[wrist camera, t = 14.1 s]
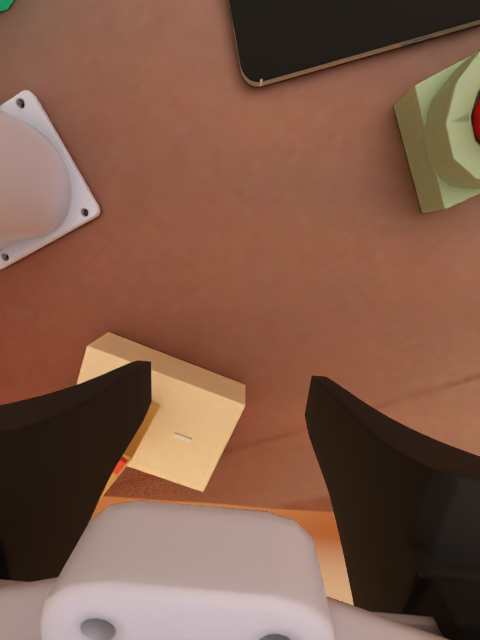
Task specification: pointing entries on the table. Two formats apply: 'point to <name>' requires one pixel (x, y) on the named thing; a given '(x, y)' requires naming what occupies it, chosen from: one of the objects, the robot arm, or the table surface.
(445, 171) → the block
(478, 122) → the button
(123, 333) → the table surface
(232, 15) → the smartphone
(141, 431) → the thumbturn
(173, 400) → the plate
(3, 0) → the candle
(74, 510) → the robot arm
